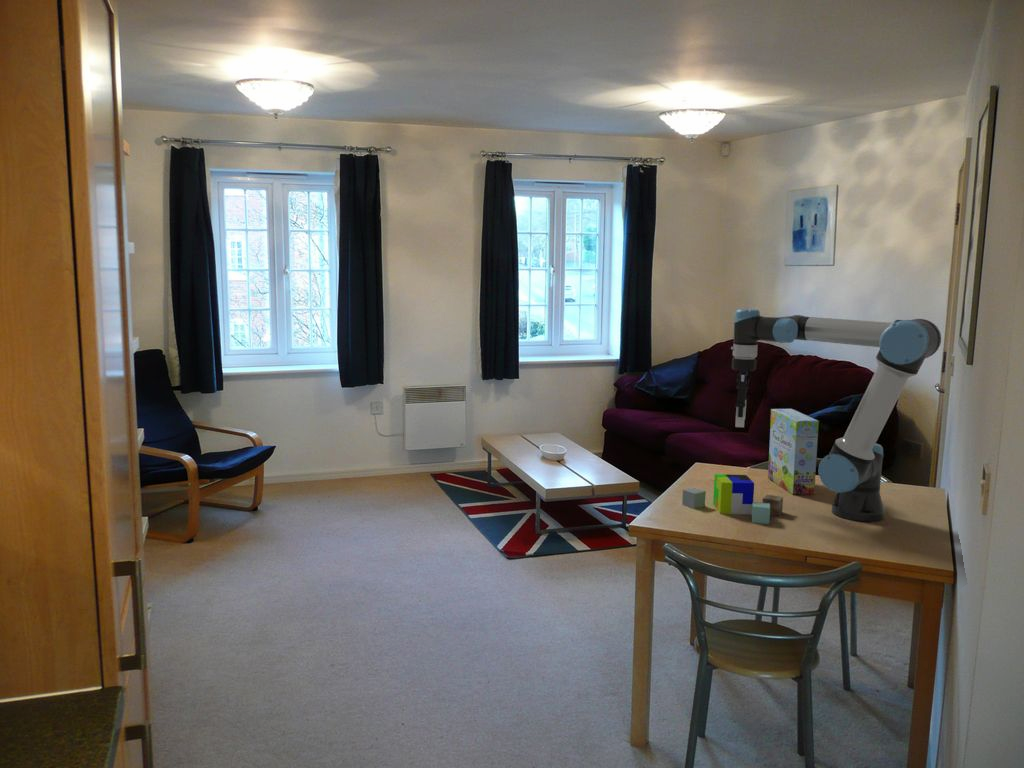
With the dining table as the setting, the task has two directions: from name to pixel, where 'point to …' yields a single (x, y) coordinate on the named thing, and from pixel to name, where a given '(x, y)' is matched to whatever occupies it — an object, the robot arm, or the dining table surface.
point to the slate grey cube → (694, 498)
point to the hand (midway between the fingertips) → (740, 423)
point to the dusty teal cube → (760, 512)
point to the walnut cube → (774, 504)
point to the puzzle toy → (733, 494)
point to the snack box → (793, 451)
